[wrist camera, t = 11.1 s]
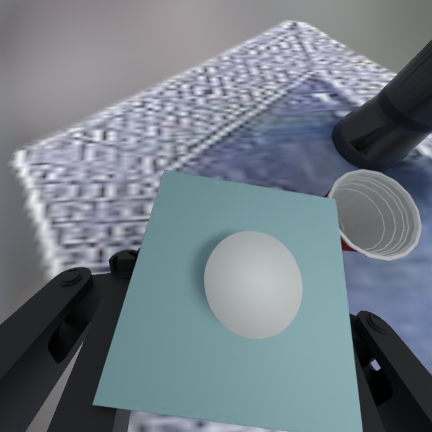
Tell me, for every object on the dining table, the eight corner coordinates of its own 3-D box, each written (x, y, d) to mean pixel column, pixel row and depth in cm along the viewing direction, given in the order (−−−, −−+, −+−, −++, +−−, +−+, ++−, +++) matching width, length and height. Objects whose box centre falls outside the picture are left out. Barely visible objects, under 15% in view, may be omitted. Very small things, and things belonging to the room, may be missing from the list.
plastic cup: (275, 250, 28) (326, 237, 16) (288, 198, 31) (336, 157, 20) (336, 273, 27) (431, 276, 16) (341, 217, 31) (423, 187, 19)
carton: (192, 242, 20) (156, 148, 4) (240, 250, 20) (363, 184, 5) (181, 296, 18) (49, 457, 2) (235, 304, 18) (423, 505, 3)
